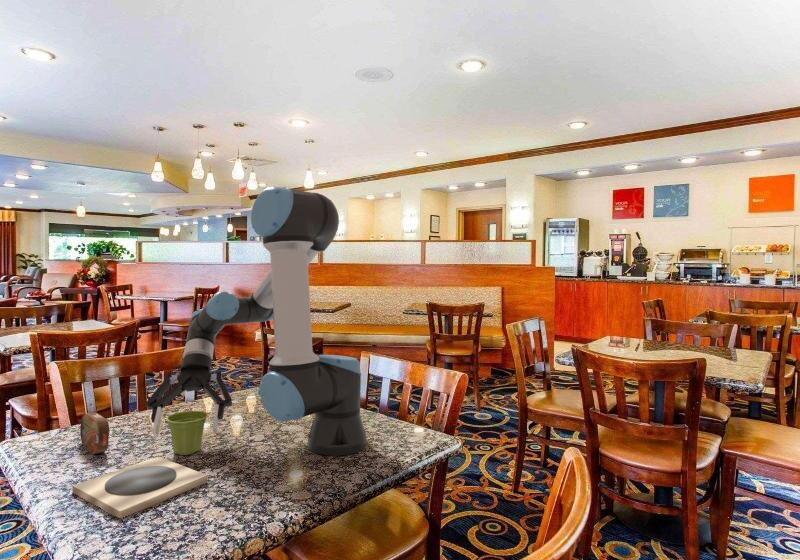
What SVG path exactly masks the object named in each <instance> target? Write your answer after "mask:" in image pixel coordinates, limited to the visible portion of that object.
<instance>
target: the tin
mask: <svg viewBox="0 0 800 560" xmlns="http://www.w3.org/2000/svg"><path fill="white" fill-rule="evenodd" d="M79 433H80V441H81V442H80V443H81V445H82V446H83V448H84V449H86V451H88V452H89V453H90V454H91V455H96V454H102V453H105V452H106V451H107V450H108V449H109V440H110V439H109V438H110V425H109V422H108V420H107V418H105V417H104V416H102V415H101V414H100V413H98V412H89V413H88V412H87V413H84V414H83V415H82V417H81V419H80V431H79Z"/></svg>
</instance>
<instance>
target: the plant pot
mask: <svg viewBox="0 0 800 560" xmlns="http://www.w3.org/2000/svg"><path fill="white" fill-rule="evenodd" d="M208 416H209V414H208V412H206V411H203V410H202V411H201V410H189V411H180V412H175V413H173V414H169V415H168V416H167V417H166V418H165V419H166V420H165V421H166V422H167V423H168V427H169V429H170V430H169V431H170V435H171V442H172V450H173V453H174V454H176V455H177V454H178V455H179V456H186V455H187V456H188V455H192V454H195V453H196V452H199V451H201V449H202V443H203V442H202V441H203V434H204V430H205V429H204V428H205V423H206V422H207V421H206V420H207V418H208Z"/></svg>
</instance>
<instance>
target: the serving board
mask: <svg viewBox="0 0 800 560" xmlns="http://www.w3.org/2000/svg"><path fill="white" fill-rule="evenodd" d="M207 483H208V474H205V473H202V472H200V471H197V470H194V469H192V468H189V467H187V466H184V465H182V464H179V463H177V462H174V461H173V460H169V459H167V458H165V457H161V456H160V455H158V456H156V457H153V458H150V459H147V460H144V461H141V462H137V463H134V464H132V465H128V466H126V467H123V468H120V469H117V470H114V471H112V472H109V473H105V474H102V475H100V476H96V477H94V478H90V479H87V480H85V481H82V482H79V483H76V484H72V486H71V488H72V489H71V490H72V491H71V492H72V494H73V493H74V494H73V495H75V494H76V496H77V495H78V496H77V497H79V498H81V499H82V498H83V500H84V499H85V500H84V501H86V502H88V501H89V502H88V503H89V504H91V503H92V504H91V505H93V504H94V505H93V506H95V505H96V506H95V507H97V506H98V507H100V508H101V509H100V508H99V509H100V510H102V509H103V510H102V511H104V510H105V511H104V512H106V511H107V512H109V513H111V514H112V515H111V514H110V515H111V516H113V515H114V516H113V517H115V516H116V517H118V518H122V519H124V518H126V517H125V516H127V517H129V516H131V514H132V515H133V513H134V514H136V513H138V511H139V512H140V511H144V510H146V509H148V508H150V507H152V506H155V505H157V504H159V503H161V502H164V501H166V500H170V499H171V498H174V497H176V496H178V495H180V494H183V493H185V492H187V491H190V490H193V489H194V488H197V487H200V486H202V485H204V484H207ZM98 507H97V508H98ZM107 512H106V513H107ZM135 512H136V513H135ZM109 513H108V514H109ZM128 515H129V516H128ZM116 517H115V518H116ZM123 517H124V518H123ZM118 518H117V519H118Z"/></svg>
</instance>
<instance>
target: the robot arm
mask: <svg viewBox="0 0 800 560" xmlns="http://www.w3.org/2000/svg"><path fill="white" fill-rule="evenodd" d="M339 218H340V216H339V212H338V208H337V207H336V205H335V204H334V202H333V201H332V200H331V199H330V198H328V197H327V196H326V195H325V194H324V195H323V194H320V193H318V192H311V191H305V190H300V189H295V188H290V187H287V186H282V187H280V186H269V187H267V188H265V189H263V190H262V191H261V192H260V193H259V194H258V195H257V197H256V199H255V200H254V202H253V204H252V208H251V212H250V223H251V227H252V229H253V231H254V232H255V234H257V235H258V236H260V237H261V238H262V246H263V248H265V249H266V250H267V251H268V252H269V254H270V255H269V258H270V269H269V271H268V272H267V274H266V275H265V276H264V278H262V280H261V281H260V283H258V285H257V286H256V288H255V289H254V291H253V292H252V293H251V295H250V296H245V297H237V296H236V295H235V294H233V293H231V292H228V291H226V290H224V291H217V292H216V293H214V295H213V296H212V297H211V298H210V299H208V301H207V302H206V304H205V305H204V307H203V308H201V309H200V308H199V309H198V310H195V311H194V312H192V314H191V316H190V320H189V321H188V322H189V323H188V329H187V335H186V340H185V346H184V349H183V350H184V351H183V355H182V357H183V358H182V361H181V364H180V365H181V366H180V369H179V370H180V372H179V373H178V374H172V373H171V372H167V373H166V375H165V377H164V380H163V381H162V382H161V384H159V386H157V389H156V390H155V391H154V392H153V394H151V396H150V397H149V398H148V399H147V401H145V405H146V407H147V409H148V410H151V411H152V412H151V414H150V415H151V416H150V420H151V422H152V423H153V427H152V434H153V437H159V433H160V432H159V431H160V428H161V423H162V419H163V414H164V412H163V411H164V410H163V408H164V407H167V405H168V404H169V403H170V402H172V401H173V400H174V399H175V398H176V397H178V396H179V395H182V394H183V393H184V392H185V391H186V392H193V391H194V392H200V391H201V390H203V392H204V393H206V394H207V395H208V397H210V399H211V400H212V401H213V402H214V403H215V405H214V413H213V414H214V415H213V420H212V421H213V422H212V431H213V434H218V427H219V420H223V419H224V414H225V408H226V407H232V405H233V401H232V400H233V399H232V397H231V395H230V393H229V391H228V389H227V387H226V385H225V383H224V381H223V376H222V375H223V374H222V372H221V371H217V372H216V373H211V371H212V364H213V358H214V357H213V356H214V350H215V343H216V338H217V337H216V336H217V335H218V334H219V333H220V332H221V331H222V330H223V328H224V327H225V326H229V325H240V324H251V323H264V322H268V321H272V320H273V333H274V351H275V352H274V353H275V354H274V356H273V357H272V358H271V360H270V361H269V372H267V373H266V374H264V375H263V376H262V378H261V381H260V383H259V384H260V389H259V390H260V395H259V396H260V401H261V403H262V406H263V407H264V409H265V411H267V413H268V415H269V416H270V417H272V418H273V420H276V421H278V422H282V423H283V422H285V423H286V422H290V421H297V420H300V419H302V418H305V417H308V416H312V415H314V417H313V420H312V423H311V425H310V430H309V432H308V436H307V449H308V450H309V451H311V452H313V453H315V454H317V455H322V456H329V457H330V456H332V457H336V456H339V457H340V456H345V455H346V456H347V455H351V454H356V453H358V452H360V451H362V450H364V449H366V447H367V433H366V431H365V428H364V424H363V421H362V418H361V387H362V386H361V384H362V383H361V382H362V380H361V379H362V378H361V377H362V372H361V371H362V370H361V363H360V361H359V359H357V358H356V357H352V356H345V355H340V354H339V355H336V354H318V355H317V354H316V353H314V350H313V337H312V336H313V335H312V334H313V333H312V317H311V316H312V315H311V298H310V297H311V296H310V279H309V264H311V262H312V261H313V260H314V258H315V257H316V256H317V255H318V254H319V253H322V252H324V251H326V249H328V247H329V246H330V245H331V243H332V242H333V241H334V239H335V237H336V235H337V233H338V231H339V225H340V219H339ZM211 380H213V381H214V382H215V383H217V386H218V388H219V390H220V392H221V395H222V396H223V398H224V399H222V397H221V396H220V395H219V394H218V393H217V392H216V390H214V389H213V388H212V386H211V385H210V384H209V383H210V382H211ZM176 381H177V382H176ZM175 382H176V383H175ZM172 385H174V386H173V387H172V388H171V389H170V387H171V386H172ZM169 389H170V390H169ZM167 391H168V392H167Z"/></svg>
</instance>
